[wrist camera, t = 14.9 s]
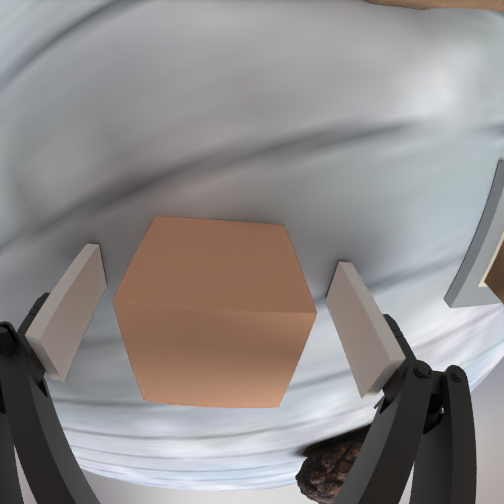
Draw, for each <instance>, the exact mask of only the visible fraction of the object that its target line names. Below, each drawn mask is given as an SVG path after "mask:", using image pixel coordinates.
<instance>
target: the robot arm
mask: <svg viewBox="0 0 504 504" xmlns="http://www.w3.org/2000/svg"><path fill="white" fill-rule="evenodd" d="M106 288H107V284H106V279H105V274H104V269H103V264H102V258H101V253H100V247H99V244H86V245H85V246H84V248H83V249H82V250H81V252H80V253H79V254H78V256H77V257H76V258H75V260H74V261H73V262H72V264H71V265H70V266H69V268H68V269H67V270H66V272H65V273H64V275H63V276H62V277H61V279H60V280H59V282H58V283H57V285H56V286H55V287H54V289H53V290H52V292H51V293H44V294H43V295H42V296H41V297H40V298H38V299H37V301H36V302H35V304H34V305H33V308H31V310H30V312H29V315H27V316H26V318H25V320H24V321H23V323H22V324H21V326H20V328H19V329H18V331H17V333H16V331H15V329H14V328H13V326H12V324H11V323H9V322H6V321H4V322H0V504H24V502H23V498H22V493H21V489H20V485H19V479H18V473H17V467H16V460H15V452H14V446H15V448H16V451H17V454H18V457H19V460H20V463H21V466H22V468H23V471H24V474H25V476H26V479H27V481H28V484H29V486H30V489H31V491H32V493H33V495H34V497H35V500H36V502H37V504H100V502H99V501H98V499H97V497H96V496H95V494H94V492H93V491H92V489H91V487H90V485H89V484H88V482H87V480H86V478H85V476H84V475H83V473H82V471H81V469H80V467H79V465H78V463H77V461H76V459H75V457H74V455H73V453H72V450H71V448H70V446H69V444H68V441H67V439H66V437H65V434H64V432H63V429H62V427H61V424H60V422H59V419H58V416H57V414H56V411H55V408H54V405H53V402H52V399H51V396H50V393H49V390H48V386H47V383H46V380H45V379H44V377H43V376H44V373H45V371H46V372H47V373H48V375H49V376H50V378H51V379H55V380H58V381H61V382H65V380H66V378H67V375H68V373H69V370H70V367H71V365H72V362H73V360H74V357H75V355H76V352H77V350H78V348H79V345H80V343H81V341H82V338H83V336H84V334H85V332H86V329H87V327H88V325H89V323H90V321H91V318H92V316H93V314H94V312H95V310H96V308H97V306H98V304H99V302H100V300H101V298H102V296H103V294H104V292H105V290H106ZM325 302H326V304H327V307H328V309H329V312H330V314H331V317H332V320H333V322H334V325H335V327H336V330H337V332H338V335H339V338H340V340H341V343H342V346H343V348H344V351H345V354H346V356H347V359H348V362H349V365H350V367H351V370H352V373H353V376H354V379H355V381H356V384H357V387H358V390H359V393H360V396H361V399H362V398H368V397H374V396H376V395H377V394H378V393H379V392H380V391H381V389H382V390H383V392H384V396H383V397H382V398H381V399H380V400H379V402H378V403H377V404H376V405H375V407H374V408H375V409H376V408H377V407H378V406H379V407H378V409H377V412H376V414H375V417H374V420H373V422H372V424H371V427H370V429H369V432H368V434H367V436H366V439H365V441H364V443H363V445H362V447H361V450H360V452H359V454H358V456H357V458H356V460H355V462H354V464H353V466H352V468H351V470H350V472H349V474H348V476H347V478H346V479H345V481H344V483H343V485H342V487H341V488H340V490H339V492H338V494H337V495H336V497H335V499H334V500H333V502H332V504H398V503H399V501H400V499H401V496H402V494H403V491H404V489H405V486H406V484H407V481H408V478H409V475H410V472H411V470H412V467H413V464H414V473H413V481H412V489H411V496H410V502H409V504H475V499H476V474H477V471H476V470H477V466H476V441H475V428H474V418H473V410H472V403H471V396H470V390H469V385H468V379H467V376H466V373H465V372H464V370H463V369H462V368H460V367H459V366H456V365H451V366H449V367H448V368H447V369H446V370H445V371H444V372H440V371H433V370H432V369H431V367H430V366H429V365H428V364H427V363H425V362H424V361H421V360H417V359H416V357H415V355H414V354H413V352H412V350H411V348H410V346H409V344H408V343H407V341H406V339H405V337H403V336H404V335H403V334H402V332H401V331H400V328H399V327H398V325H397V323H396V321H395V320H394V319H393V318H391V317H390V316H389V315H388V314H382V313H381V311H380V309H379V308H378V306H377V304H376V302H375V301H374V299H373V297H372V295H371V294H370V292H369V290H368V289H367V287H366V285H365V284H364V282H363V280H362V279H361V277H360V275H359V274H358V272H357V271H356V269H355V267H354V266H353V264H352V263H351V262H339V263H338V266H337V269H336V272H335V275H334V278H333V281H332V283H331V286H330V289H329V292H328V295H327V298H326V300H325ZM442 408H443V412H442ZM414 460H415V462H414Z"/></svg>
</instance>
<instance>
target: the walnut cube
mask: <svg viewBox="0 0 504 504" xmlns="http://www.w3.org/2000/svg"><path fill="white" fill-rule="evenodd" d="M484 283H485V284H486V285H487V286H488V287H489V288H490V289H491V290H492V292H493V293H494V294H495V295H496V296H497V297H498V298H499V299H500V301H501V302H502V303H503V304H504V240H503V242H502V245H501V247H500V249H499V251H498V254H497V256H496V258H495V260H494V262H493V264H492V266H491V268H490V270H489V272H488V274H487V276H486V278H485V280H484Z"/></svg>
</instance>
